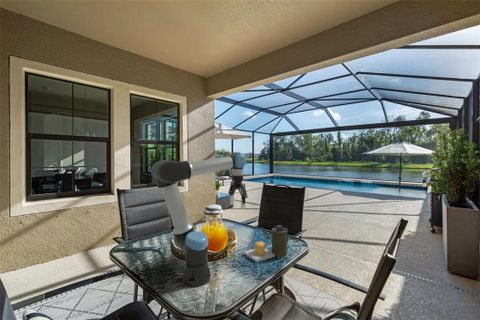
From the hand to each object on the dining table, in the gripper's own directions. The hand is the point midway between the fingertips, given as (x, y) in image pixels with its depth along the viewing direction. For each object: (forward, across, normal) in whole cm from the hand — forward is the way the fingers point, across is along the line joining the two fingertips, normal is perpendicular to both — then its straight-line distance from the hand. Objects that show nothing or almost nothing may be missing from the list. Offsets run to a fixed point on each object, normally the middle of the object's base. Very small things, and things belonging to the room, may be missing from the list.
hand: (237, 206), depth 149 cm
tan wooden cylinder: (+30, -11, -11) cm, 34 cm away
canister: (+32, -17, -23) cm, 43 cm away
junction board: (+32, -11, -11) cm, 35 cm away
